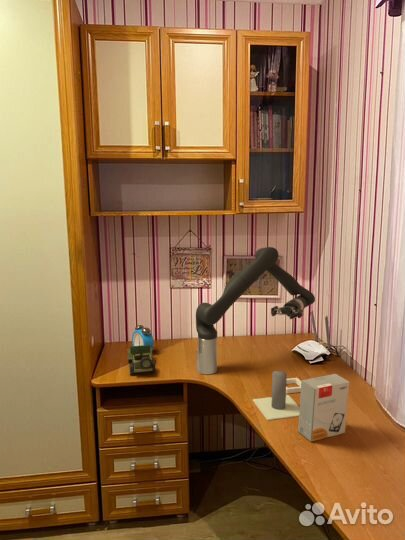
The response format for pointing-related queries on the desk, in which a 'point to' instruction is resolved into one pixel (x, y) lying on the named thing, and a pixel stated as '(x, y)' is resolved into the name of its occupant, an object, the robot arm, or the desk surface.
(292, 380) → the off-white collar
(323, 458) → the desk surface
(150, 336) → the alarm clock
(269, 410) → the pale sage mat
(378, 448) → the desk surface
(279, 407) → the grey cylinder
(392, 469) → the desk surface
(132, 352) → the toy jeep
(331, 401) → the hard drive box
